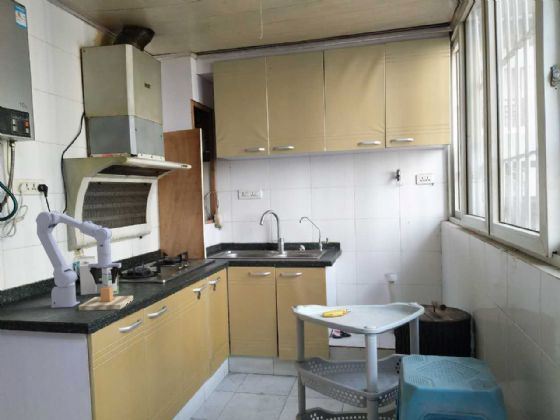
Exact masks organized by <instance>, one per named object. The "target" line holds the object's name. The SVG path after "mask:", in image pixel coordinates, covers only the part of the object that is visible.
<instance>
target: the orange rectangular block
mask: <svg viewBox="0 0 560 420" xmlns="http://www.w3.org/2000/svg"><path fill="white" fill-rule="evenodd" d="M113 296H114V295H113V286H111V287H103V286H102V287H101V288H100V297H101V302H112V301H113Z"/></svg>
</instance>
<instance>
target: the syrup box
mask: <svg viewBox="0 0 560 420" xmlns="http://www.w3.org/2000/svg"><path fill="white" fill-rule="evenodd" d="M104 267H108V266H104ZM110 267H111V266H110ZM110 269H112V268H101V278H102V280H101V281H102V288H103V287H111V286H113V296H114V295H118V294H120V288H119V287H120V286H119V283H120V282H119V273H118V274H117V277H116V282H115V283H114V284H112V276H111V271H110Z"/></svg>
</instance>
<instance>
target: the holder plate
mask: <svg viewBox="0 0 560 420" xmlns="http://www.w3.org/2000/svg"><path fill="white" fill-rule="evenodd" d="M133 300H134V295H116V296H114V295H113V301H112V302H101V296H94V297H93V298H92V297H91V299H89V300H87V301H85V302H84V303H82V304H80V305H78V312H82V311H85V312H86V311H104V310H106V311H107V310H108V311H109V310H121V309H123V308H124V307H126V306H127V305H128V304H130V303H131V302H133ZM130 301H131V302H130ZM127 303H128V304H127ZM126 304H127V305H126Z"/></svg>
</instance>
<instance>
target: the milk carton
mask: <svg viewBox="0 0 560 420" xmlns="http://www.w3.org/2000/svg"><path fill="white" fill-rule="evenodd" d="M88 264H96V258H95V256H94V255H90V256H79V278H80V279H79V282H80V283H79V284H80V295H81V296H84V295H94V294H95V295H96V294H97V284H95V281H94V278H93V276H92V274H91V273H90V271H89V270H90V269H88Z"/></svg>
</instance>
